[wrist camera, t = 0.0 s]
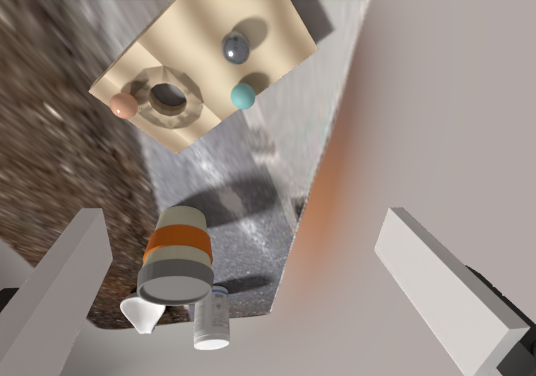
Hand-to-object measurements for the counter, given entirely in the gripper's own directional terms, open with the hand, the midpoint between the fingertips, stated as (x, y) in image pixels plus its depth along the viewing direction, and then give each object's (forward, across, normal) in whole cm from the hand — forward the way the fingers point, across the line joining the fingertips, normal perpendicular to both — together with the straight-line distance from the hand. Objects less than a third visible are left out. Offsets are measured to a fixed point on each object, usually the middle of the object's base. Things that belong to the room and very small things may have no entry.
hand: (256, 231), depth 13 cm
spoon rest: (+52, -22, -66) cm, 87 cm away
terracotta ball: (+25, -13, 0) cm, 28 cm away
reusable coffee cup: (+38, -8, -26) cm, 47 cm away
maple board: (+28, -4, +5) cm, 28 cm away
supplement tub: (+50, -3, -60) cm, 78 cm away
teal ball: (+25, +1, +2) cm, 25 cm away
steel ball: (+23, 0, +7) cm, 24 cm away
